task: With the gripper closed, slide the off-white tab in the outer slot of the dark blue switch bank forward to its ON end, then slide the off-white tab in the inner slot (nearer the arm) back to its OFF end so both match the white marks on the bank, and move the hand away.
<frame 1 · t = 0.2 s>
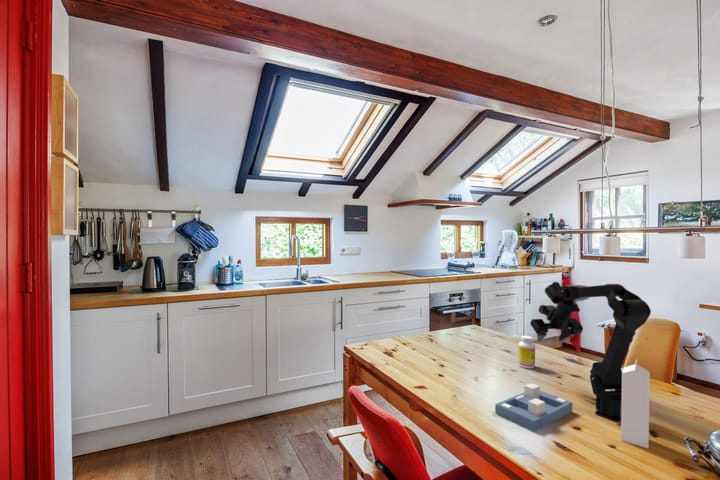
hand: (549, 340, 146), 15 cm above the table, tool tilted 30°, fingers open, 9 cm apart
supplement bottle: (526, 366, 159), on the table
tab 1: (536, 409, 111), point 4 cm above the table, slide at 0.0 cm
milk: (635, 440, 101), on the table
switch bank: (534, 412, 117), on the table
tab 2: (532, 393, 123), point 4 cm above the table, slide at 7.4 cm
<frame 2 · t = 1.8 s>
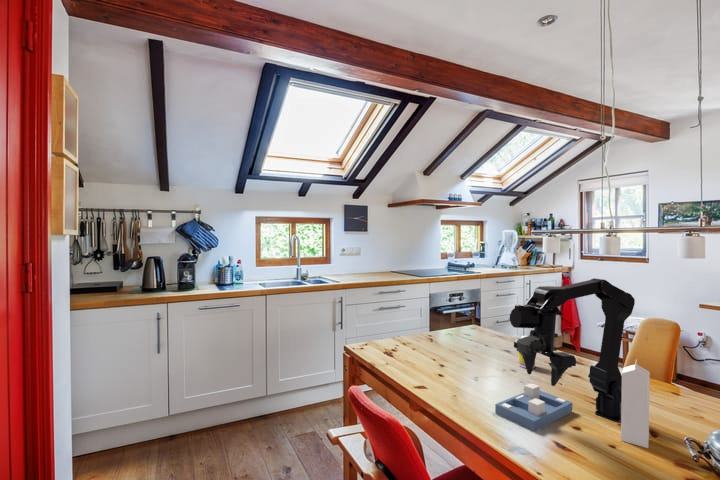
hand: (540, 379, 111), 13 cm above the table, tool pointing down, fingers open, 9 cm apart
nothing on the table moved.
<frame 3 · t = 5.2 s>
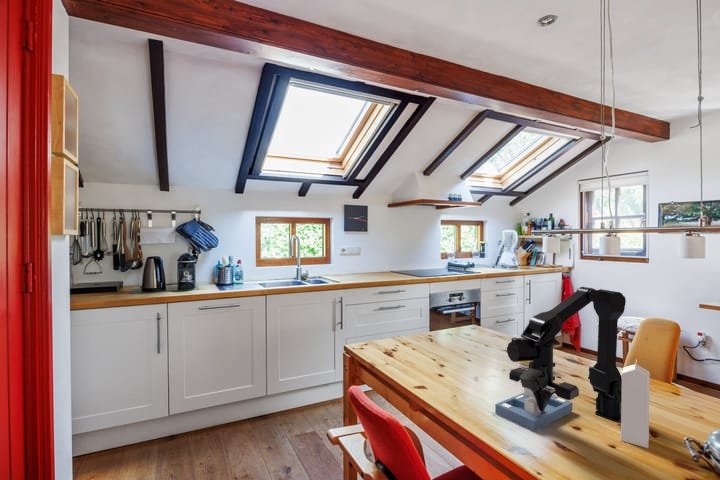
hand: (541, 410, 110), 4 cm above the table, tool pointing down, fingers closed
tab 1: (532, 408, 112), point 4 cm above the table, slide at 1.2 cm, touching gripper
everything else where it was.
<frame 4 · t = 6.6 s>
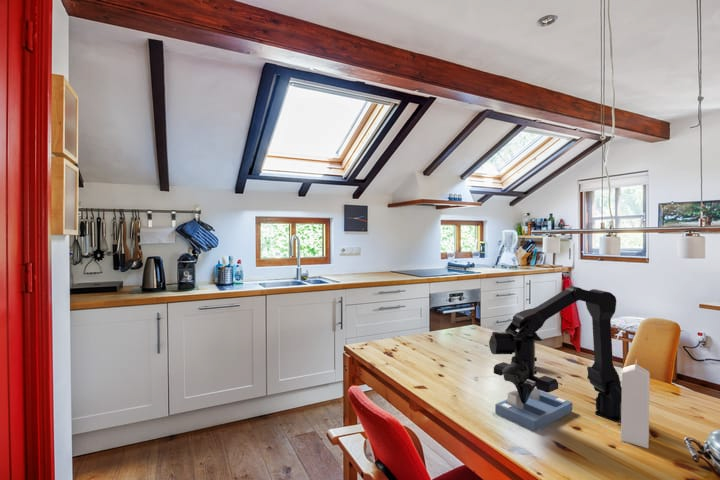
hand: (523, 403, 115), 4 cm above the table, tool pointing down, fingers closed
tab 1: (515, 400, 117), point 4 cm above the table, slide at 7.1 cm, touching gripper
everything else where it was.
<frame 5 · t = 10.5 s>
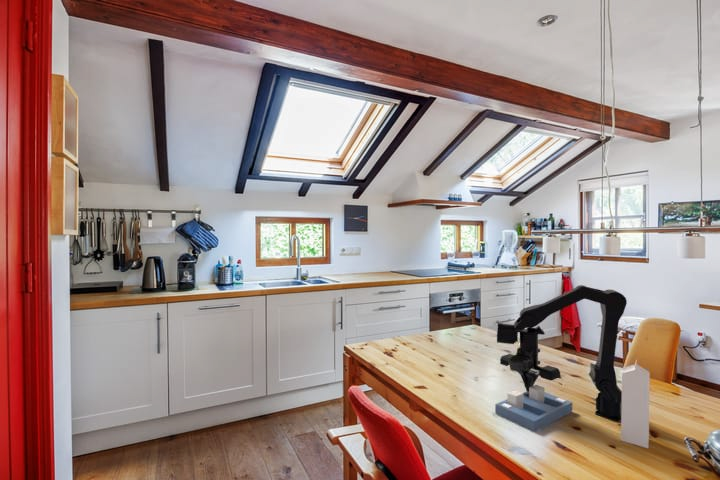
hand: (528, 391, 124), 4 cm above the table, tool pointing down, fingers closed
tab 1: (515, 400, 117), point 4 cm above the table, slide at 7.1 cm
tab 2: (536, 395, 122), point 4 cm above the table, slide at 5.7 cm, touching gripper
everything else where it was.
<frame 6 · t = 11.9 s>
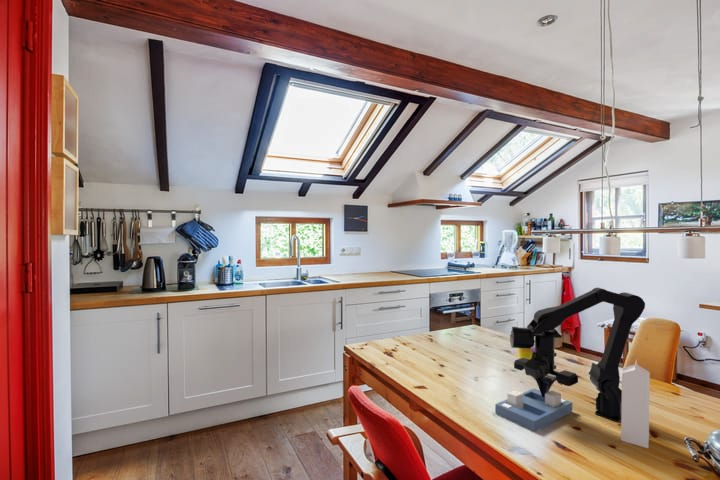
hand: (543, 396, 119), 4 cm above the table, tool pointing down, fingers closed
tab 2: (552, 401, 117), point 4 cm above the table, slide at 0.3 cm, touching gripper
everything else where it was.
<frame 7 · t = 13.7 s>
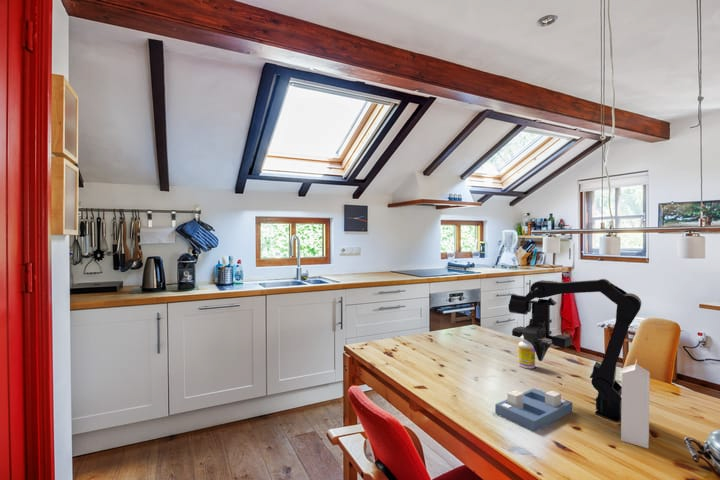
hand: (540, 360, 128), 13 cm above the table, tool pointing down, fingers closed
tab 2: (552, 401, 117), point 4 cm above the table, slide at 0.3 cm
everything else where it was.
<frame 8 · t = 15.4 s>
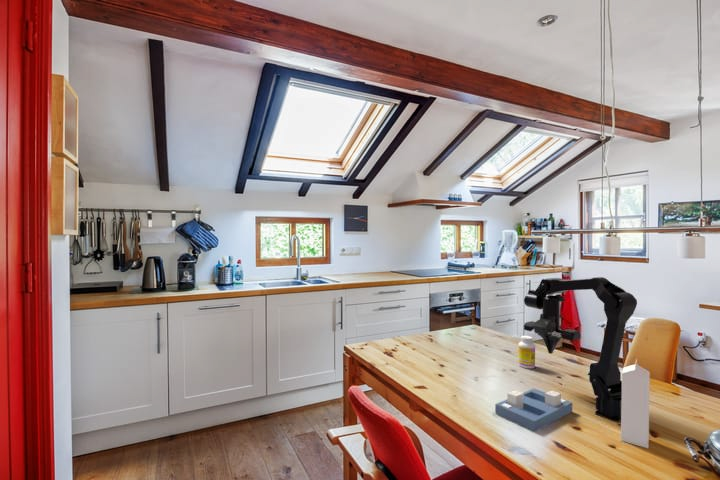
hand: (550, 353, 136), 13 cm above the table, tool pointing down, fingers closed
nothing on the table moved.
at the end: tab 1 slide at 7.1 cm; tab 2 slide at 0.3 cm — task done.
